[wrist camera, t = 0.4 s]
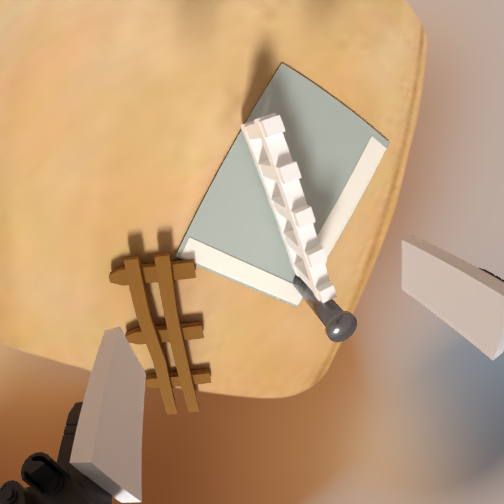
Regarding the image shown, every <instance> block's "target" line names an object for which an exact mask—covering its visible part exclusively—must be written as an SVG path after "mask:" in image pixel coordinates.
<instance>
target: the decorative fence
mask: <svg viewBox="0 0 504 504" xmlns="http://www.w3.org/2000/svg"><path fill="white" fill-rule="evenodd" d="M154 258H155V263H151V264H142V265H141V263H140V257H139V256H133V257H125V259H124V264H125V266H123V267H120V268H118V269H116V270H114V271H112V272H110V274H109V279H110V282H111V283H115V284H119V285H129V287H130V292H131V296H132V300H133V304H134V308H135V312H136V316H137V319H138V322H139V325H140V328H134V329H132V330H130V331H128V332H126V335H125V337H126V339H127V341H128V342H130V343H134V344H147V347H148V350H149V352H150V355H151V357H152V360H153V363H154V367H155V371H156V374H149V375H146V381H145V387H149V388H160V391H161V394H162V398H163V402H164V406H165V409H166V413H167V414H177V407H176V403H175V399H174V394H173V390H172V387H173V386H181V387H182V390H183V394H184V397H185V401H186V404H187V408H188V411H189V412H198V411H199V405H198V401H197V397H196V393H195V389H194V384H203V383H211V378H210V372H209V369H201V370H192V371H190V367H189V363H188V358H187V354H186V349H185V345H184V340H191V339H200V338H204V335H203V328H202V321H200V322H192V323H182V324H180V321H179V316H178V311H177V305H176V298H175V291H174V283H173V280H180V279H190V278H196V275H195V267H194V259H188V260H179V261H171V259H170V252H169V253H160V254H155V257H154ZM152 282H158V283H159V288H160V294H161V299H162V305H163V310H164V315H165V320H166V325H163V326H155V324H154V321H153V318H152V314H151V311H150V307H149V302H148V298H147V293H146V288H145V283H152ZM161 342H170V343H171V347H172V352H173V356H174V360H175V364H176V368H177V372H171V373H169V371H168V366H167V361H166V356H165V353H164V350H163V348H162V345H161Z"/></svg>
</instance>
